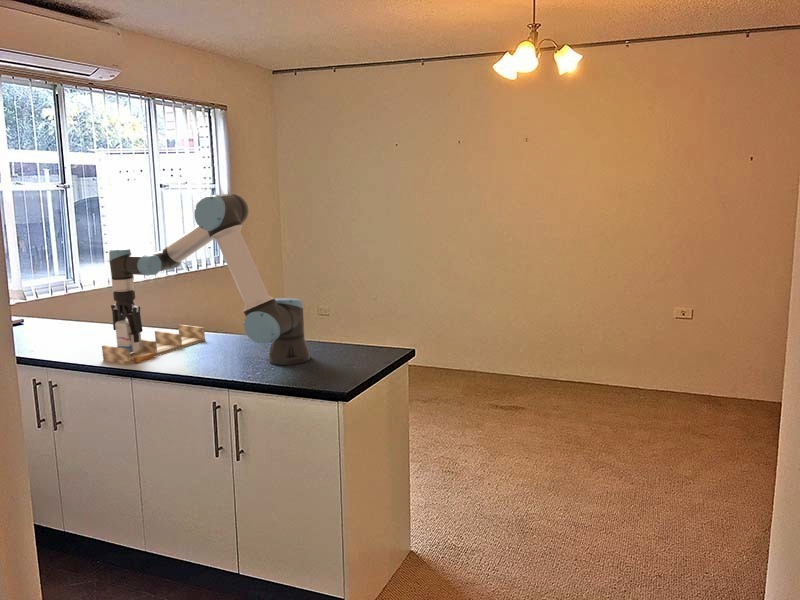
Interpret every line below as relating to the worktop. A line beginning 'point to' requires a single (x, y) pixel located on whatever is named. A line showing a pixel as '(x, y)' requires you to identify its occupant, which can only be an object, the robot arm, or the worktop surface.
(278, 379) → the worktop surface
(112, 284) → the robot arm
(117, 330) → the ink box
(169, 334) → the rack
